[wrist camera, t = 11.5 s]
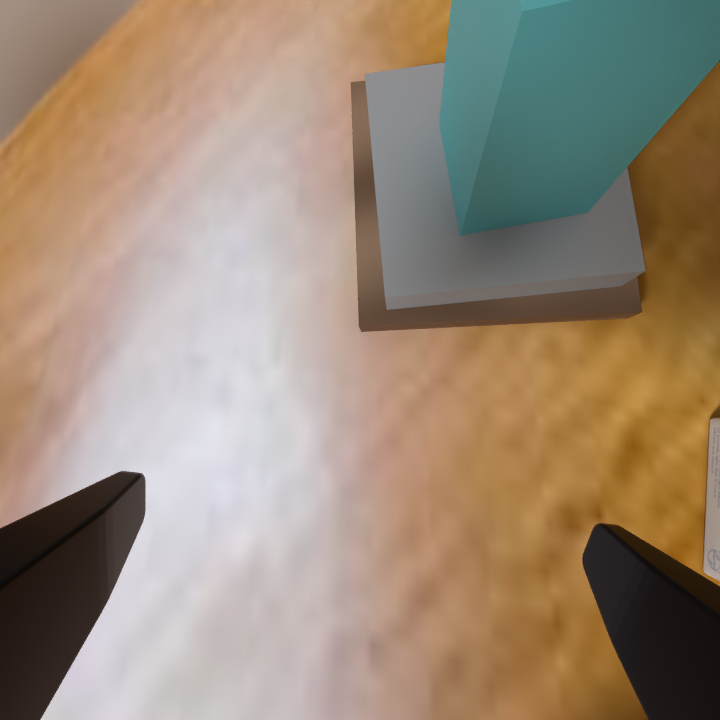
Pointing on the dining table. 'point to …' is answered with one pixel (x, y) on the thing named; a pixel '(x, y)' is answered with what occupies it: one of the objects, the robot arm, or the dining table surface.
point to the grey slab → (482, 249)
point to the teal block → (561, 98)
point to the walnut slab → (463, 314)
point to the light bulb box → (713, 504)
